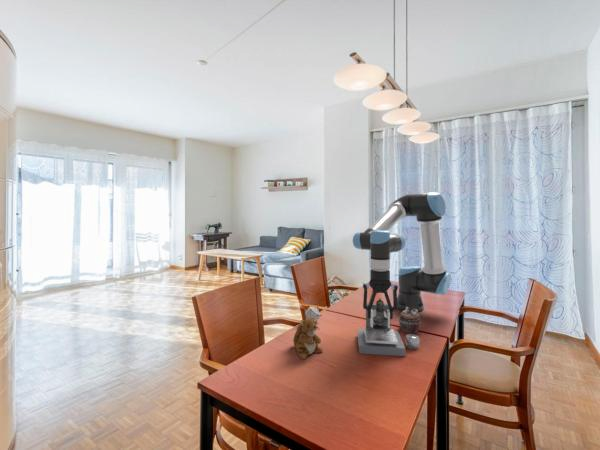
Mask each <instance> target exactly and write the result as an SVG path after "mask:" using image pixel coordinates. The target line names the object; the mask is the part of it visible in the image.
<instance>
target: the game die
mask: <svg viewBox="0 0 600 450" xmlns="http://www.w3.org/2000/svg"><path fill="white" fill-rule="evenodd" d="M307 307H308V308H307V309H306V311H305V312H303V313H302V314H303V315H304V316H305V319H309V318H311V319H312V318H314V323H315V325H318V323H317V322H318V321H319V319H320V317H322V316H323V315H322V314H321V313H320V311H319V306H317V307H316V306H315V307H314V306H310V305H308V306H307Z"/></svg>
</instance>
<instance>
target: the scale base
mask: <svg viewBox="0 0 600 450" xmlns="http://www.w3.org/2000/svg"><path fill="white" fill-rule="evenodd" d="M368 304H369V302H367V306H368ZM371 309H372V310H373V317H375V316H376V302H373V305H372V308H371ZM384 309H385V310H384V317H386V318H387V310H389V307H388V304H387V303H384ZM391 320H392V319H390V328H388V327H387V323H386V324H385V326H386V327H387V329H392V328H391V324H392V323H391ZM374 325H376V324H375V323H374V321H373V326H374ZM365 328H374V327H371V325H370V318H368V310H367V309H365ZM394 333H395V335H396V338H397V340H398V344H382V343H366V341H365V334H364V328H363V329H360V328H358V329H357V343H358V351H359V352H358V353H359V354H363V355H364V354H365V355H366V354H367V355H381V356H395V357H397V356H398V357H406V346H405V344H404V342H403V340H402V337H401V335H400V333H399V331H398V330H397V331H396V330H394Z"/></svg>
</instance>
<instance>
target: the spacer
mask: <svg viewBox="0 0 600 450" xmlns="http://www.w3.org/2000/svg"><path fill="white" fill-rule="evenodd" d="M405 348H407V349H410V350H411V349H412V350H417V349H420V336H419V335H417V334H415V333H409V334H406V335H405Z"/></svg>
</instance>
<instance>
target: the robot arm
mask: <svg viewBox="0 0 600 450" xmlns="http://www.w3.org/2000/svg"><path fill="white" fill-rule="evenodd" d="M445 214H446V202H445V199H444V197H443V195H442V194H440V192H420V193H409V194H406V195H402V196H401V197H399V198H397V199H396V200H394V201H392V203H391V204H389V205H388V208H387V210H386V211H384V212H383V214H381V215H380V216H379V217H377V219H376V220H374V222H373V223H372V224H371V225H369V226H368V227H367V228H366V230H364V232H361V231H360V232H356V233H355V234H354V235H353V237H352V244H353V247H354V248H356V249H358V250H359V249H360V250H366V251H367V250H369V251H370V262H369V263H370V271H369V272H370V279H369V282H367V283H362V288H363V301H362V302H363V303H362V306H363V309H364V310H366V309H367V310H368V318H370V325H371V327H373V310H372V309H371V308H372V305H373V303H375V299H376V295H377V294H379V293H380V294H384V297H385V301H386V304H388V307H389V310H387V319H388V320H387V327H388V328H390V319H391V320H393V317H394V311H398V309H399V310H402V311H404V310H406V309H405V308H406V307H410V308H417V310H418V312H421V311H423V310H424V309H425V303H424V300H423V298H422V295H421V294H422V293H421V292H424V293H429V294H434V295H439V296H440V295H441V296H443V295H444V296H445V295H446V294H447V293H448V292H449V289H450V286H451V281H452V275H451V273H449V272H447V269H446V267H445V266H443V259H442V247H441V234H440V221H441V220H442V217H443V216H445ZM406 217H416V221H417V223H419V224H420V233H421V235H420V236H421V242H422V243H421V244H422V254H423V265H424V266H423V267H422V268H421V266H419V265H411V266H409V265H408V266H402V267H400V268H399V270H398V285H397V284H396V283H395V284H394V283H392V282H391V270H390V269H391V254H392V253H395V252H396V253H397V252H400V251H402V250H403V249H404V248H405V247H406V239H405V237H404V236H403V235H402V234H400V233H391V232H390V230H391V229H392V228H393V226H395V225H396V223H398V221H402V220H403V219H404V218H406ZM369 288H371V290H372V292H371V296H370V298H369V301H368V290H369ZM390 288H391V290H392V302H391V300H390V296H389V293H388V290H389V289H390ZM367 303H369V304H368V306H367ZM392 304H393V306H392Z"/></svg>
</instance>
